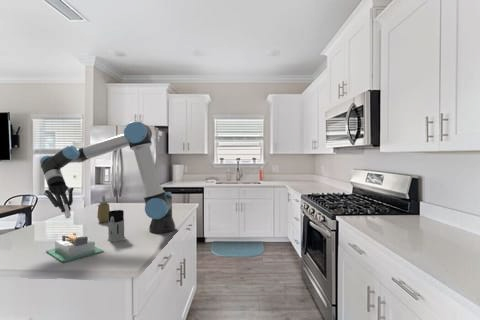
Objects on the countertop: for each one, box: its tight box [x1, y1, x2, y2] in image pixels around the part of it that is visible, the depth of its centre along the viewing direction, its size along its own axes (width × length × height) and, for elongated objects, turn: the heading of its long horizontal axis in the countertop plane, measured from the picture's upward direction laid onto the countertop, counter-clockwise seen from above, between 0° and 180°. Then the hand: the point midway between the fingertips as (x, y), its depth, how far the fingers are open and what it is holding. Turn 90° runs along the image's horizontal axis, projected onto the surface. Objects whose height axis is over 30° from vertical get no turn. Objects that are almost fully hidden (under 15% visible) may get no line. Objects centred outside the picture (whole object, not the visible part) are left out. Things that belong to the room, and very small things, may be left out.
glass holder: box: [107, 209, 126, 242], centre depth 147 cm, size 9×14×15 cm, turn 10°
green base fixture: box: [45, 232, 105, 264], centre depth 130 cm, size 22×17×8 cm
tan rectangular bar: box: [65, 233, 84, 241], centre depth 130 cm, size 14×3×2 cm, turn 50°
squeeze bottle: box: [96, 195, 111, 223], centre depth 190 cm, size 8×8×18 cm
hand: (68, 216), depth 133 cm, fingers closed
